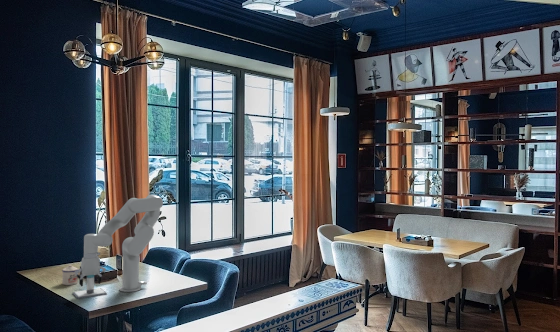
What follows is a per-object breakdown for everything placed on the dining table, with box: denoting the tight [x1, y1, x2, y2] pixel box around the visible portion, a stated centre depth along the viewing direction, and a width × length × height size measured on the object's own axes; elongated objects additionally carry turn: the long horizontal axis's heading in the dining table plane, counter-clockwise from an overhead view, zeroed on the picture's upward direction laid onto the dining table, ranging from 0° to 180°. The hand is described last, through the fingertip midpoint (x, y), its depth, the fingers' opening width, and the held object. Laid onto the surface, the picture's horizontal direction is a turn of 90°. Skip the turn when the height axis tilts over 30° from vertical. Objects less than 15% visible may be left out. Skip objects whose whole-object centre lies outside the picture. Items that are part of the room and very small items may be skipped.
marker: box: [86, 275, 95, 294], centre depth 271 cm, size 4×4×12 cm
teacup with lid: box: [61, 264, 81, 286], centre depth 294 cm, size 12×9×12 cm
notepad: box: [72, 287, 108, 300], centre depth 272 cm, size 16×12×1 cm
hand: (90, 284), depth 271 cm, fingers open, 9 cm apart
